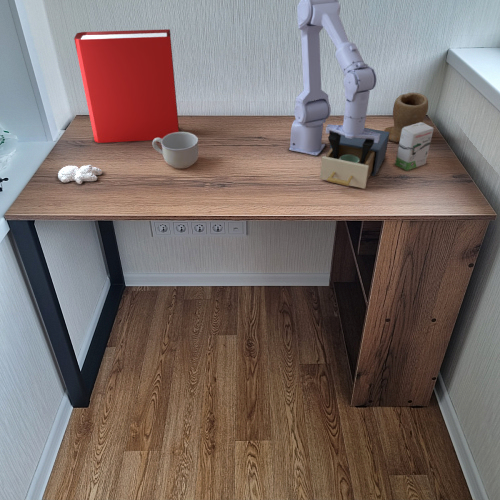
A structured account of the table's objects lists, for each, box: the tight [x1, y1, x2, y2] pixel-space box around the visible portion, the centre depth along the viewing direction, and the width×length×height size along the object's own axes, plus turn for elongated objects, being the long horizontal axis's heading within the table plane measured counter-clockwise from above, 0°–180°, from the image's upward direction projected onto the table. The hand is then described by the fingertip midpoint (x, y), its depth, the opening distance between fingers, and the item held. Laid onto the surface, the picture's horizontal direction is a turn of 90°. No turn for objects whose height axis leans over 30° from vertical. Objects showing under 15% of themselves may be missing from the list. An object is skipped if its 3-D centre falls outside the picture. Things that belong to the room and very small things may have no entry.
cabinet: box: [329, 127, 390, 177], centre depth 152 cm, size 13×14×8 cm
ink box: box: [394, 122, 435, 172], centre depth 149 cm, size 9×5×12 cm, turn 123°
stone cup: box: [383, 91, 429, 143], centre depth 162 cm, size 15×12×15 cm
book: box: [73, 28, 180, 144], centre depth 159 cm, size 27×8×32 cm, turn 97°
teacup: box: [151, 131, 199, 170], centre depth 151 cm, size 14×11×8 cm
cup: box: [339, 155, 360, 163], centre depth 144 cm, size 6×6×4 cm
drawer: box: [319, 144, 376, 190], centre depth 143 cm, size 17×13×7 cm
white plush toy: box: [57, 164, 103, 185], centre depth 146 cm, size 9×12×3 cm
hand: (348, 160), depth 143 cm, fingers open, 7 cm apart
